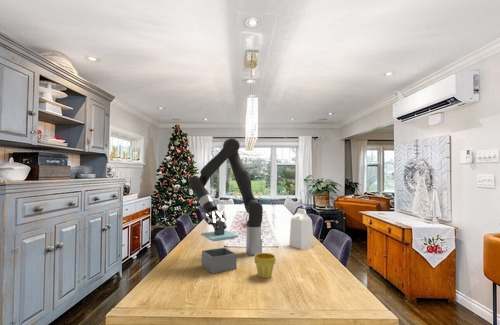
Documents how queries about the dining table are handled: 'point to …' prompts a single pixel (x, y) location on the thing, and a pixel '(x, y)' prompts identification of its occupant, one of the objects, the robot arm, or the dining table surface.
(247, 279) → the dining table surface
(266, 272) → the plant pot
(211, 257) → the tub
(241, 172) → the robot arm
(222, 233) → the lid
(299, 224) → the milk
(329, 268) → the dining table surface
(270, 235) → the dining table surface
